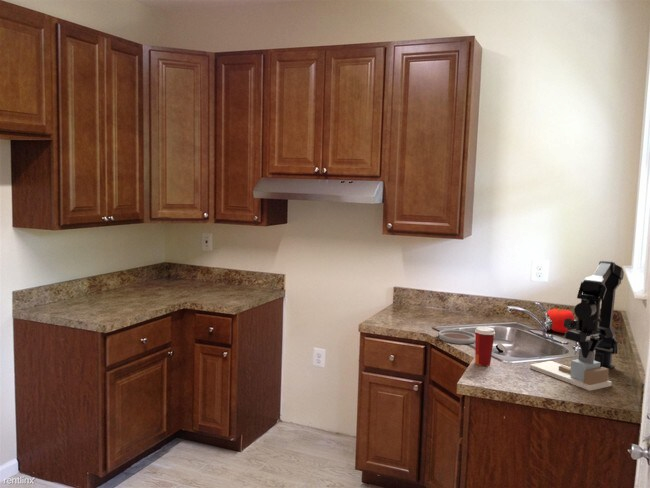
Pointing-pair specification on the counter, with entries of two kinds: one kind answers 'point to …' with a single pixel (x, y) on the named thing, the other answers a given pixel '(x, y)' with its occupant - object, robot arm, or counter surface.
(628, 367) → the counter surface
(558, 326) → the red bell pepper
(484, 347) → the paper cup
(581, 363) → the cabinet block
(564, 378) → the mounting board
